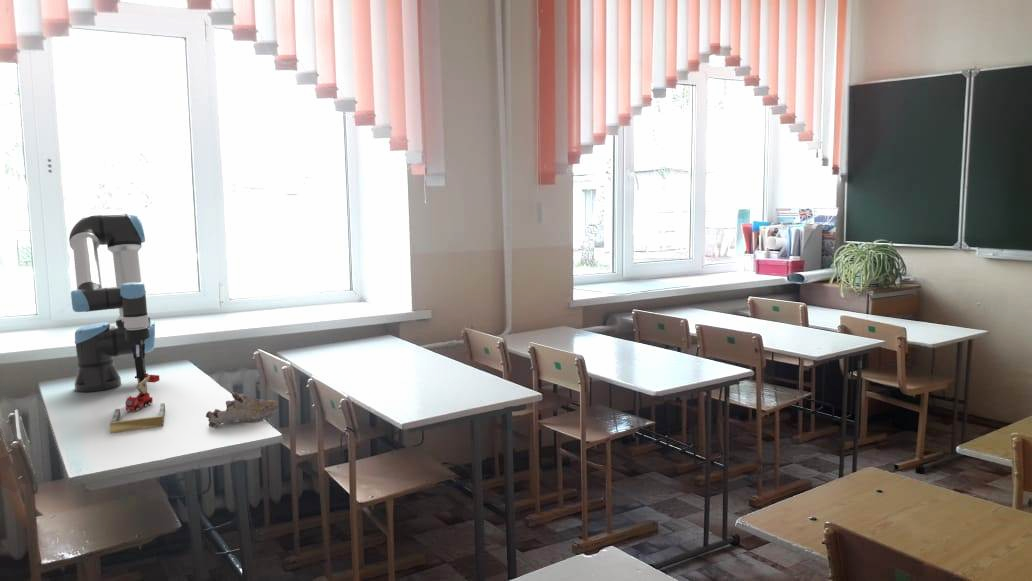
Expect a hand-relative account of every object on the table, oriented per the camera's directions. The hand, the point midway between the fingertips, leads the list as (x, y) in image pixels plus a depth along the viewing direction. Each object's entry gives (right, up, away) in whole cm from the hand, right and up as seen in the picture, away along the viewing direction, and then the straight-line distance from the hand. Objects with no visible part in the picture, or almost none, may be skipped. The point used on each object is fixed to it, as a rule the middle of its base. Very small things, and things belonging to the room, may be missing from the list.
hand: (143, 395), depth 265 cm
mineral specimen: (+43, -5, -26) cm, 51 cm away
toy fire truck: (+3, -3, -6) cm, 7 cm away
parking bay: (+9, -5, -22) cm, 24 cm away
